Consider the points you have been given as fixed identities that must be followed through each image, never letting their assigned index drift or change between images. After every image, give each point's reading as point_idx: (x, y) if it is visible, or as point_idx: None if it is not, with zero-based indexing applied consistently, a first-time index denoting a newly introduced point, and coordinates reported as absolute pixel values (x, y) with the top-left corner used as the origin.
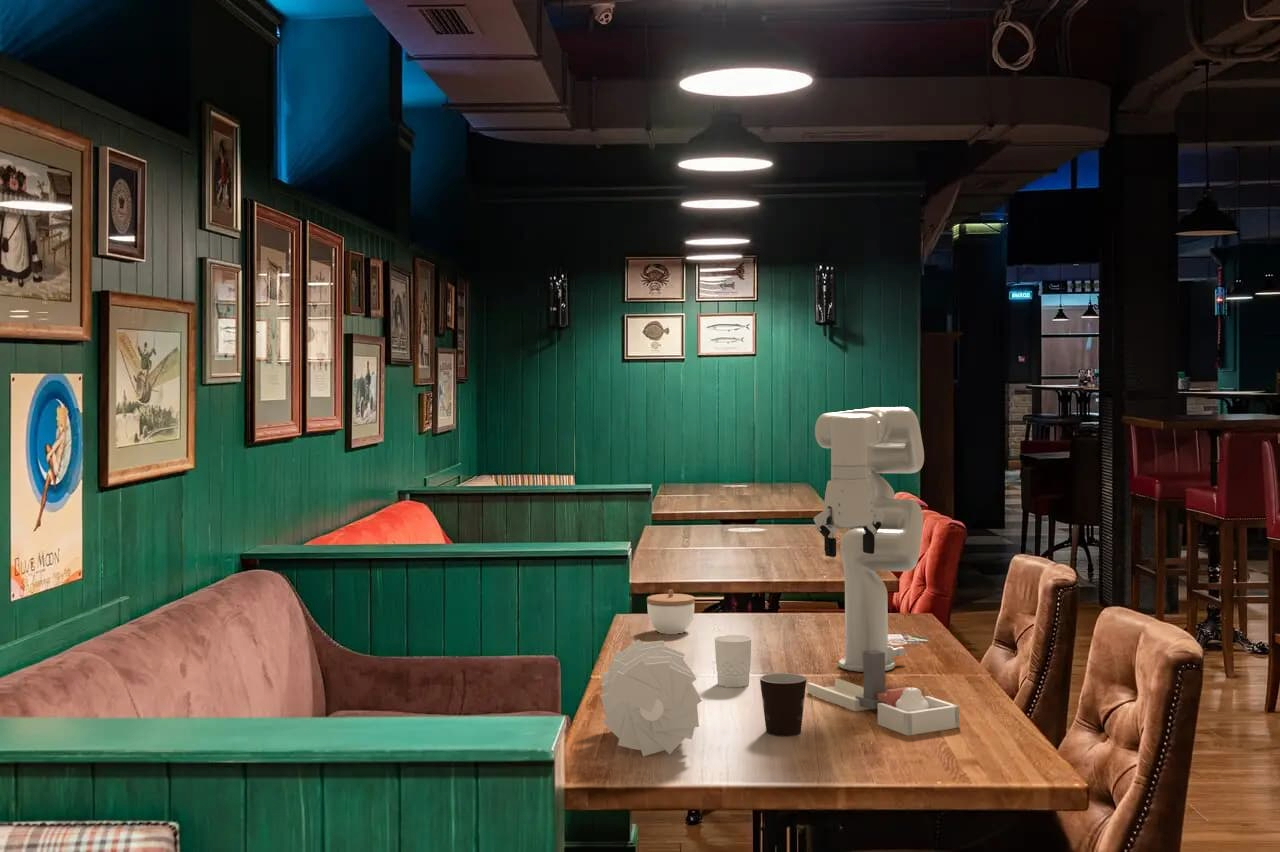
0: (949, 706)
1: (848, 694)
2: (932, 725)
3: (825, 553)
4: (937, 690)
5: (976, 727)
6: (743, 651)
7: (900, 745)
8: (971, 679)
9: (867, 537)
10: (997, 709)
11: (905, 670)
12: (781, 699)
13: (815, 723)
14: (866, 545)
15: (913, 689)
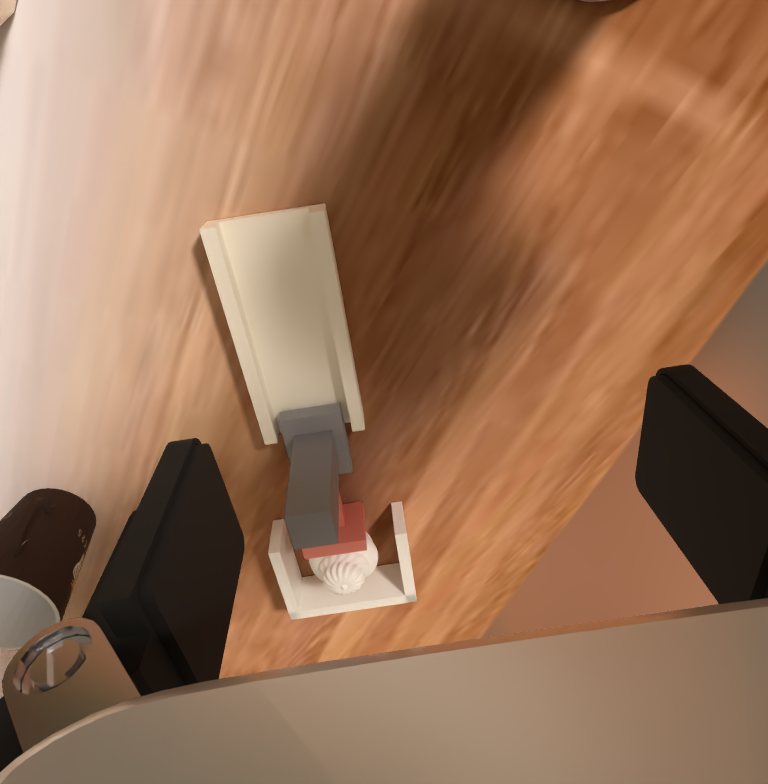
0: (397, 599)
1: (305, 317)
2: None
3: (167, 451)
4: (576, 311)
5: (440, 572)
6: None
7: (256, 619)
8: (758, 227)
9: (737, 557)
10: (566, 492)
11: (696, 2)
12: (7, 609)
13: (143, 483)
14: (682, 470)
15: (342, 593)
